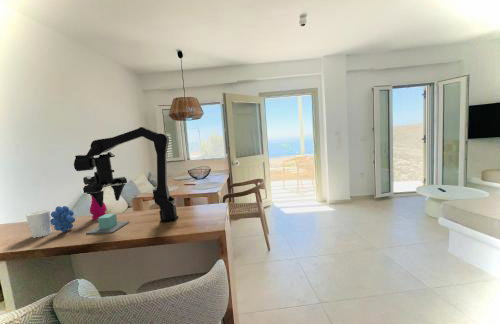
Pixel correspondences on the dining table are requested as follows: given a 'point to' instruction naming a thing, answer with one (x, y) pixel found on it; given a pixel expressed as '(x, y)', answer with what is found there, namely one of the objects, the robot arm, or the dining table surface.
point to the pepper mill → (97, 209)
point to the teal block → (107, 221)
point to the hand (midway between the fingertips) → (109, 203)
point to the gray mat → (112, 230)
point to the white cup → (39, 223)
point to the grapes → (62, 218)
